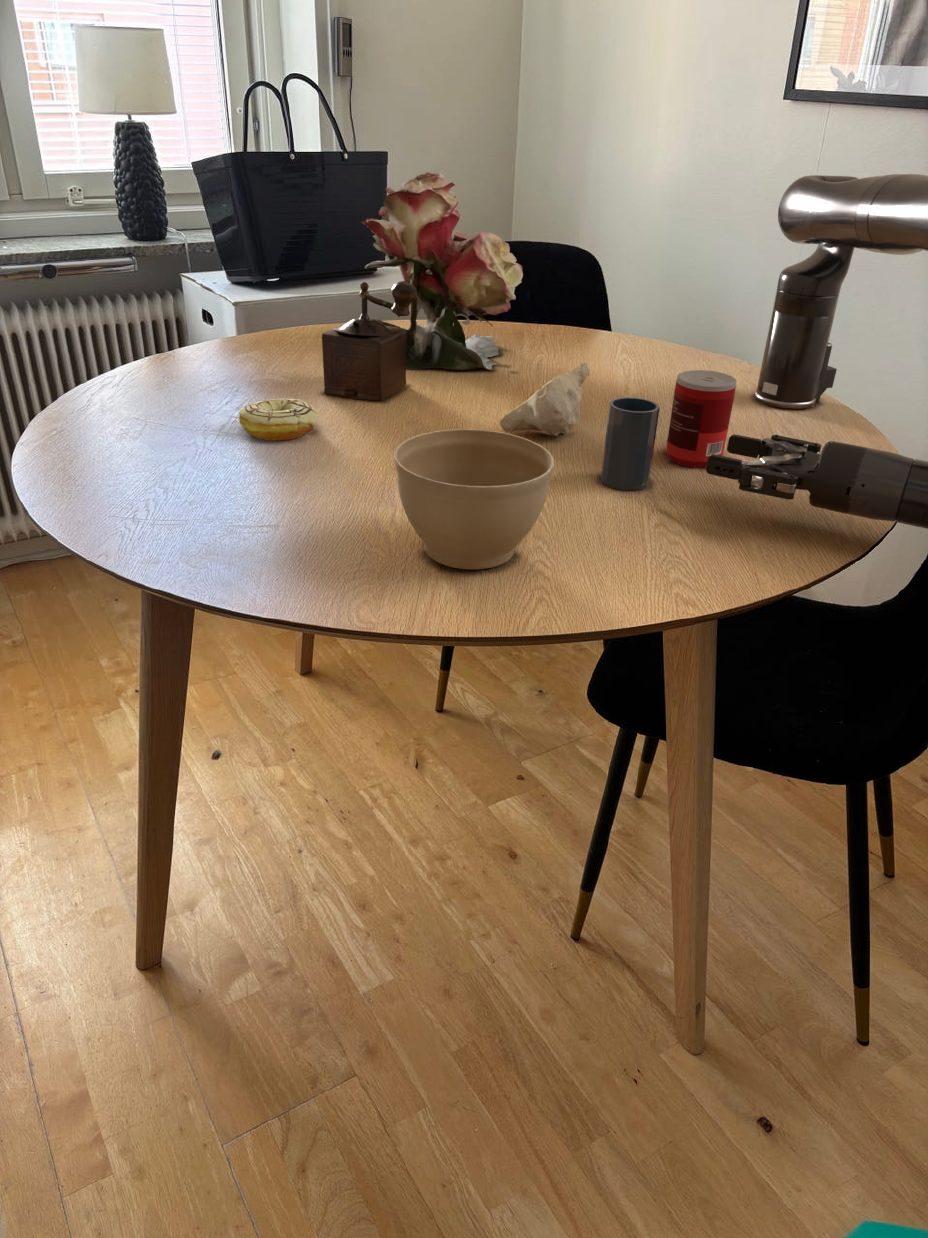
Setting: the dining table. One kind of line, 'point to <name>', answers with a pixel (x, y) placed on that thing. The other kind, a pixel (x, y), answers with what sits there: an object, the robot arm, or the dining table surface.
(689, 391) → the canned food
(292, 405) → the decorated donut
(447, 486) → the planter bowl
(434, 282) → the rose bouquet
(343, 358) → the manual coffee grinder
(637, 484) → the tumbler
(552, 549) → the dining table surface
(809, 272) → the robot arm
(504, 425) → the cream rock
